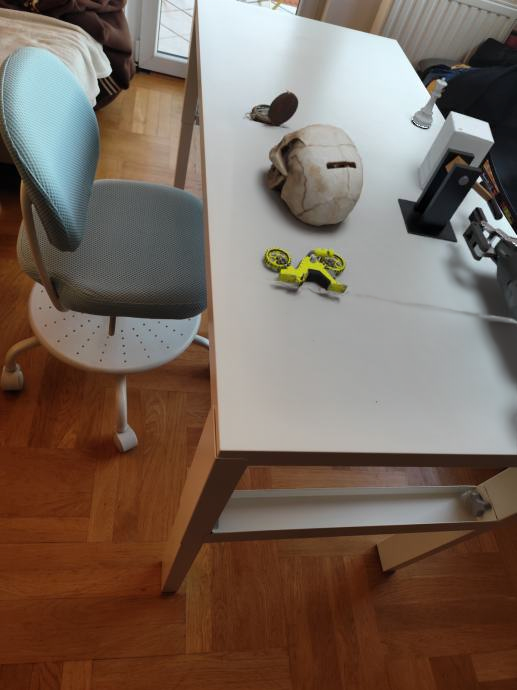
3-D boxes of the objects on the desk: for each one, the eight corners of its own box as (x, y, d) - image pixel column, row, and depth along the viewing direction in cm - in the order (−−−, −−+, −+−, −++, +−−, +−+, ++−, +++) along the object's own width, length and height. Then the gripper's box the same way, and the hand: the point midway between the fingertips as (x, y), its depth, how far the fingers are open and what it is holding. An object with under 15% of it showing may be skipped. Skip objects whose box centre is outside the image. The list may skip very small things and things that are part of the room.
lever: (478, 190, 84) (491, 180, 82) (494, 224, 78) (508, 214, 77) (439, 154, 78) (452, 143, 77) (454, 187, 73) (468, 176, 71)
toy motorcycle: (346, 244, 69) (358, 281, 65) (337, 263, 72) (348, 299, 68) (266, 237, 66) (273, 275, 62) (259, 257, 69) (266, 295, 65)
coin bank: (285, 155, 86) (314, 85, 76) (361, 214, 84) (402, 150, 73) (231, 190, 78) (255, 116, 67) (315, 257, 75) (354, 192, 65)
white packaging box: (454, 205, 90) (495, 143, 80) (417, 193, 90) (454, 129, 80) (451, 183, 95) (489, 122, 85) (415, 171, 94) (450, 109, 85)
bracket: (441, 213, 87) (482, 149, 78) (453, 247, 82) (500, 182, 72) (395, 204, 86) (431, 137, 76) (405, 237, 80) (445, 170, 70)
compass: (270, 108, 96) (280, 70, 90) (292, 130, 93) (303, 92, 87) (236, 111, 92) (244, 72, 87) (258, 134, 89) (267, 95, 83)
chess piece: (413, 126, 106) (437, 80, 98) (409, 116, 109) (432, 70, 101) (431, 131, 107) (456, 85, 99) (427, 120, 109) (451, 75, 102)
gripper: (598, 280, 66) (553, 205, 76) (506, 263, 63) (472, 188, 73) (558, 315, 72) (522, 241, 82) (473, 301, 69) (445, 226, 79)
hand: (498, 216), depth 77 cm, fingers open, 8 cm apart
